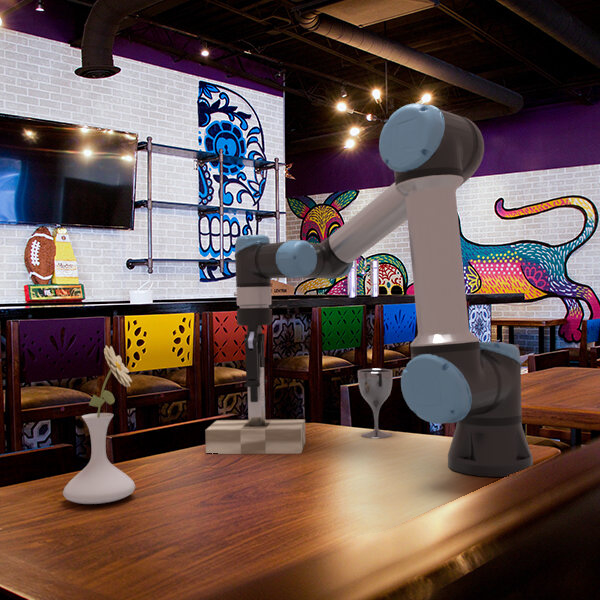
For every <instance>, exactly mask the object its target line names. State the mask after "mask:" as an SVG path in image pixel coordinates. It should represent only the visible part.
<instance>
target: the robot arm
mask: <svg viewBox="0 0 600 600" xmlns="http://www.w3.org/2000/svg"><path fill="white" fill-rule="evenodd" d="M378 144H379V145H378V148H379V150H378V151H379V155H380V157H381V159H382V161H383V163H384V164H386V165H387V167H388V168H389V169H390V170H391V171H393V172H394V173H393V174H394V183H392V184H391V185H390V186H389V187H387V188H386V189H385V190H384V191H382V193H380V194H379V195H378V196H376V197H375V198H374V199H373V200H371V201H370V202H369V203H368V204H367V205H365V207H363V208H362V209H361V210H360V211H358V212H357V213H356V214H355V215H354V216H352V218H350V219H348V221H346V222H345V223H344V224H343V225H341V226H340V227H339V228H338V229H337V230H336V231H335V232H333V233H332V234H330V236H328V237H326V239H324V240H323V241H321V242H320V243H318V242H317V243H315V242H313V243H312V242H308V240H301V239H300V240H297V239H295V240H294V239H292V240H288V241H279V242H272V243H271V241H270V237H269V236H267V235H265V234H263V235H262V234H249V235H247V234H245V235H240V236H238V237H237V238H236V239H235V245H234V246H235V248H234V260H235V262H234V263H235V287H236V291H235V292H233V296H234V297H236V305H237V307H238V306H239V308H237V310H236V324H237V325H238V326H239V327H240V326H241V327H246V333H245V334H244V340H243V343H244V348H245V350H244V351H245V352H244V354H245V378H246V379H245V383H244V385H243V386H244V388H247V409H248V408H249V417H262V405H261V386H260V367H264V368H265V340H266V335H265V333H263V329H262V326H270V325H272V323H273V320H272V315H273V314H272V309H271V308H270V306H271V305H272V287H271V285H272V283H271V280H273V279H328V280H335V279H338V278H339V279H340V278H344V277H346V276H348V275H349V274H350V273H351V271H352V268H353V266H354V263H355V261H356V260H357V259H358V258H360V257H361V256H363V255H364V254H365V253H366V252H367V251H369V250H371V248H373V247H374V246H375V245H377V244H378V243H379V242H380V241H382V240H383V239H384V238H386V237H387V236H389V234H392V232H394V231H395V230H396V229H398V228H399V227H400V226H401V225H403V224H405V222H407V229H408V238H409V239H408V240H409V248H410V249H409V250H410V251H409V252H410V260H411V261H410V262H411V271H412V281H413V291H414V303H415V311H416V312H415V313H416V325H417V335H416V337H415V338H414V339H413V340H412V342H411V343H410V355H411V360H409V362H408V363H406V367H405V368H404V369H403V370H402V374H401V376H400V377H401V378H400V387H401V392H402V397H403V399H404V401H405V402H406V404H407V406H408V407H409V409H410V410H411V411H413V413H414V414H415V415H416V416H417V417H419V418H420V419H422V420H423V421H425V422H429V423H431V424H437V425H438V424H439V425H440V424H441V425H442V424H454V423H456V427H455V429H454V433H453V436H452V440H451V443H450V446H449V449H448V453H447V466H448V468H449V470H452V471H454V472H457V473H459V474H460V473H461V474H465V475H470V476H477V477H493V478H495V477H498V478H500V477H508V476H507V475H510V474H513V473H516V472H519V471H521V470H524V469H526V468H528V467H530V466H532V465H533V466H534V463H533V461H534V460H533V459H534V458H533V454H532V451H531V449H530V446H529V444H528V440H527V438H526V435H525V431H524V429H523V425H522V424H523V423H522V422H523V421H522V415H523V414H522V373H521V372H522V371H521V370H522V369H521V368H522V361H521V353H520V349H519V348H518V347H517V346H516V345H515V344H513V343H512V344H511V343H505V342H504V343H503V342H493V341H480V338H479V337H478V336H476V335H475V334H474V333H473V332H472V331H471V330H470V326H469V325H470V324H469V316H468V307H467V304H468V303H467V296H466V285H465V284H466V283H465V277H464V275H465V274H464V266H463V265H464V264H463V254H462V246H461V244H462V243H461V234H460V224H459V214H458V213H459V212H458V205H457V189H458V188H460V187H461V186H462V185H463V184H465V183H466V182H467V181H468V180H470V178H471V177H472V176H473V175H474V174H475V172H477V170H478V169H479V167H480V166H481V163H482V161H483V158H484V152H485V143H484V137H483V135H482V131H481V130H480V129H479V128H478V126H477V125H476V124H475V122H473V121H471V120H470V119H468V118H467V117H465V116H462V115H457V114H454V113H452V112H449V111H445V110H443V109H439V107H436V106H435V105H431V104H424V103H423V104H422V103H418V102H417V103H410V104H409V103H408V104H406V105H404V106H402V107H399V109H396V111H394V112H393V113H392V114H391V115H390V116H389V119H388V120H387V122H386V123H385V124H384V125H383V128H382V130H381V132H380V135H379V143H378ZM265 378H266V375H265V374H264V384H267V383H268V379H265Z"/></svg>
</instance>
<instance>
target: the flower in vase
mask: <svg viewBox="0 0 600 600" xmlns="http://www.w3.org/2000/svg"><path fill="white" fill-rule="evenodd" d="M103 348H104V347H103ZM103 353H104V358H105V360H106V363H107V365H108V366H109V368H110V369H109V371H108V373H107V375H106V377H105V380H104V381H103V384H102V388H101V393H100V396H99V397H98V395H95V394H92V398H91V399H90V401H89V403H88V406H92V407H95V408H98V409H97V412H96V413H88V414H83V415H81V418H82V419H83V421H84V422H85V423H86V426H87V428H88V432H89V435H90V444H91V455H90V460H89V462H88V463H87V465H86V466H85V467H84V468H82V470H81V471H80V472H78V473H77V474H76V475H75V476H74V477H73V478H72V479H71V480H70V481H68V483H67V484H66V485H65V487H64V489H63V492H62V495H63V496H64V498H65V499H66V500H67V501H70V502H72V503H76V504H83V505H93V504H94V505H97V504H99V505H100V504H106V503H111V502H116V501H119V500H121V499H124V498H126V497H128V496H130V495H132V494H133V492H134V490H135V489H136V484H135V482H134V480H133V479H132V478H131V477H130V476H128V475H127V474H126V473H125V472H124V471H122V470H121V469H119V468H117V467H116V465H114V464H112V463H111V461H110V460H109V459H108V456H107V452H106V451H107V448H106V445H107V444H106V442H107V441H106V440H107V439H106V438H107V432H108V427H109V425H110V422H111V420H112V418H113V417H114V413H111V412H101V407H102V405H104V403H105V402H106V403H107V404H108V405H113V404H114V403H115V400H116V399H115V397H114V394H113V393H112V392H111V391H109V390H105V387H106V385H107V382H108V380H109V377H110V376H111V374H112V375H114V377H115V378H116V379H117V381H118V382H119V384H120V385H123V386H124V387H126V388H128V387H130V388H131V384H130V383H133V380H132V379H131V377H130V375H129V373H130V370H129V369H128V368H127V367H126V366H125V364H124V363H123V361H122V357H121V355H116V353H115V351H114V348H113V346H112V345H110V347H108V345H105V348H104V349H103Z"/></svg>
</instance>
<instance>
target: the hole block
mask: <svg viewBox="0 0 600 600" xmlns="http://www.w3.org/2000/svg"><path fill="white" fill-rule="evenodd" d="M204 431H205V433H204V434H205V454H206V453H212V454H211V455H214V454H213V453H218V454H217V455H239V454H240V455H246V454H247V455H248V454H250V455H251V454H252V455H256V454H257V455H261V454H262V455H263V454H264V455H267V454H270V455H271V454H272V455H273V454H274V455H275V454H279V455H280V454H281V455H282V454H283V455H284V454H285V455H286V454H302V452H303V449H304V448H305V444H306V419H304V418H303V419H300V418H299V419H297V418H296V419H294V418H293V419H265V427H249V419H220V420H219V419H218V420H215V421H214V422H213V423H211V424H210V426H208V427H207V428H206V429H205V430H204Z"/></svg>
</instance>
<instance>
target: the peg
mask: <svg viewBox="0 0 600 600" xmlns="http://www.w3.org/2000/svg"><path fill="white" fill-rule="evenodd" d="M264 375H265V366H264V367H260V386H261V405H262V417H249V408H248V407H247V409H248V410H247V411H248V412H247V413H248V415H247V416H248V419H247V420H249V427H265V420H266V396H265V394H266V393H265V383H264V380H265V379H264Z"/></svg>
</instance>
